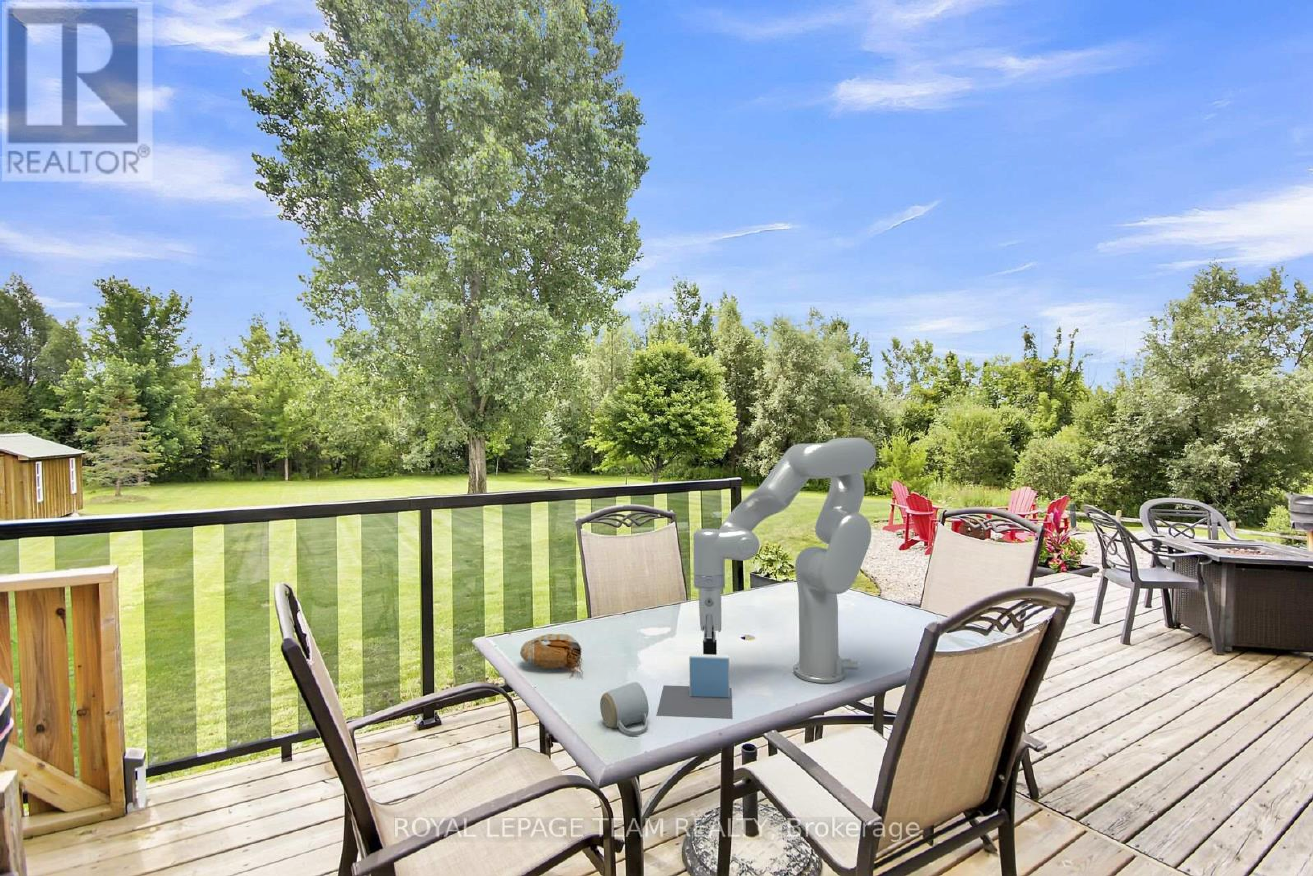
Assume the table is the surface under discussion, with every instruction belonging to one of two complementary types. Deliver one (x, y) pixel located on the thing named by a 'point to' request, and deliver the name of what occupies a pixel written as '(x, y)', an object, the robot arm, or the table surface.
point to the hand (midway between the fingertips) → (709, 657)
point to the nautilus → (553, 651)
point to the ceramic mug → (625, 708)
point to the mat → (693, 704)
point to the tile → (709, 675)
